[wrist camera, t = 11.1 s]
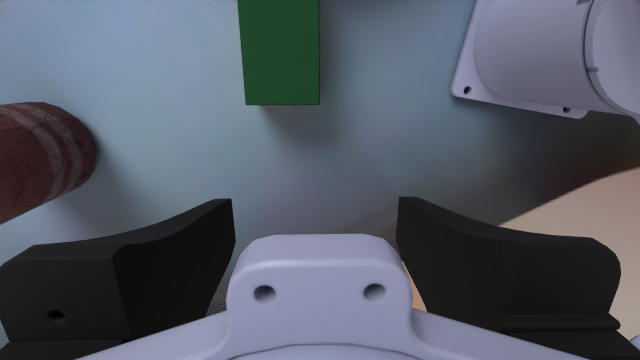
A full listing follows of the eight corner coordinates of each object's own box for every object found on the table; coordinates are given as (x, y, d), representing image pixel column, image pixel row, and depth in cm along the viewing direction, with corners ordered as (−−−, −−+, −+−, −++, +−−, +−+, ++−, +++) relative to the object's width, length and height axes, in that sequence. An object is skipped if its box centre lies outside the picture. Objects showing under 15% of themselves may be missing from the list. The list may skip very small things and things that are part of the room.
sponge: (248, -9, 19) (235, -27, 15) (318, -9, 19) (319, -27, 16) (255, 100, 21) (245, 105, 17) (318, 100, 21) (319, 105, 18)
